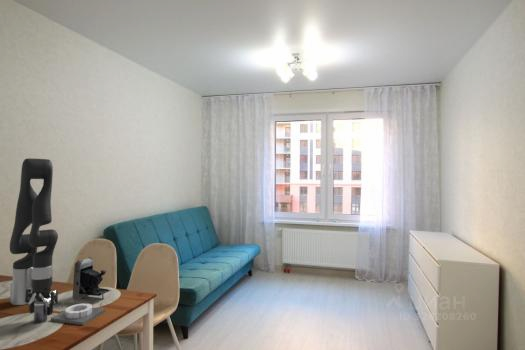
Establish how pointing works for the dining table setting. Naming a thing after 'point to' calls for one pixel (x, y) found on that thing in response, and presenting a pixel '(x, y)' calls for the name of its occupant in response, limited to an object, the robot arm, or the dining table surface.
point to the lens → (40, 311)
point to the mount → (78, 314)
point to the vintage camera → (87, 279)
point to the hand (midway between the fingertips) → (40, 313)
